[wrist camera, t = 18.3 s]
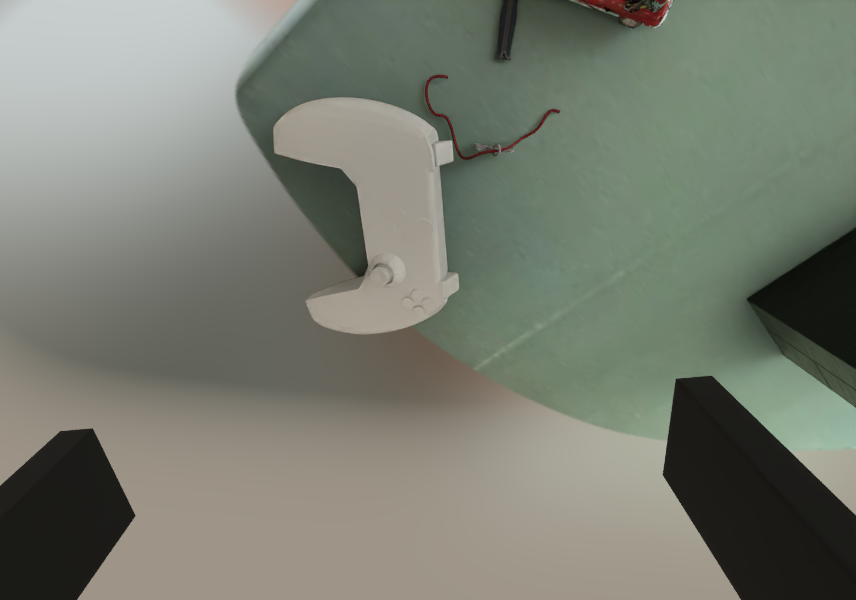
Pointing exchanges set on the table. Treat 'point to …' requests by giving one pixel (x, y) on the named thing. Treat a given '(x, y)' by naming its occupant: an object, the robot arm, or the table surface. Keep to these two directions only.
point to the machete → (506, 29)
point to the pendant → (481, 146)
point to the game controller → (379, 209)
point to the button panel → (817, 315)
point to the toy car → (644, 14)
